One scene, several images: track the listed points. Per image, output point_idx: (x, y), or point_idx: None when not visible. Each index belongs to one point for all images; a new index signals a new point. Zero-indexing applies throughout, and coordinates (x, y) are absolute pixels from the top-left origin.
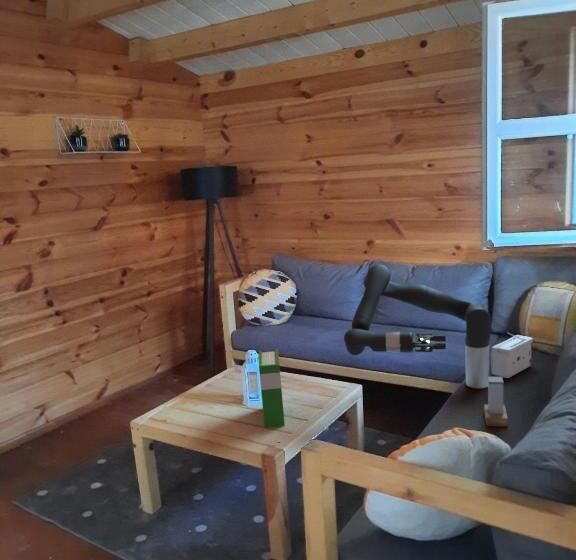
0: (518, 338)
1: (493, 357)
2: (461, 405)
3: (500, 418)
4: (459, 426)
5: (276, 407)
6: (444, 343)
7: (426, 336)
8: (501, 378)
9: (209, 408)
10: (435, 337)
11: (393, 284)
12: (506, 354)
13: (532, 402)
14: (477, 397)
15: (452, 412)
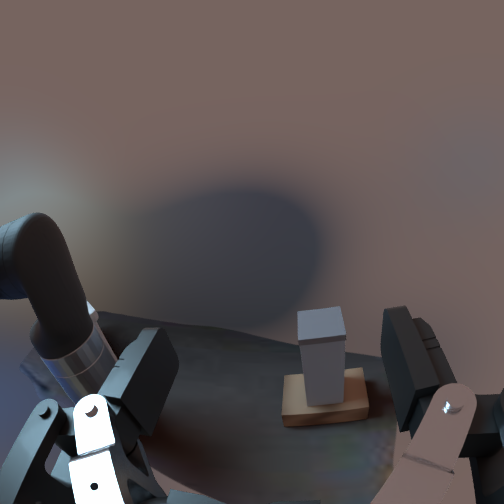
0: None
1: None
2: (239, 475)
3: (364, 380)
4: (385, 474)
5: None
6: (405, 306)
7: (126, 494)
8: (311, 311)
9: None
10: (132, 406)
11: None
12: (95, 323)
13: (235, 344)
14: (192, 433)
15: (290, 500)
